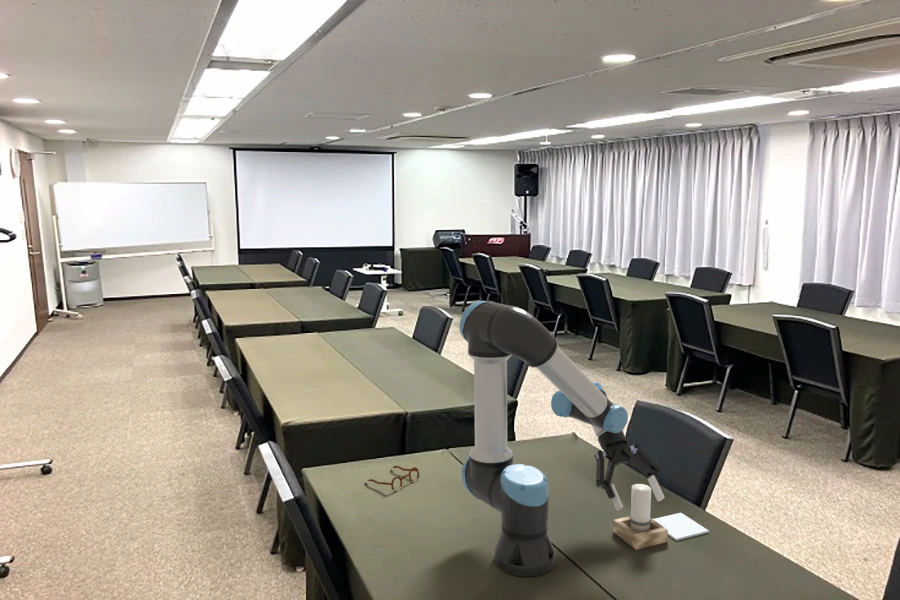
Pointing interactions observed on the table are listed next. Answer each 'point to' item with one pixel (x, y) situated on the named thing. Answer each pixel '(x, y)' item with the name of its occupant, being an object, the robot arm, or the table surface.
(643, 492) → the white banded cylinder
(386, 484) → the glasses
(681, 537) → the pad
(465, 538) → the table surface
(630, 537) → the collar
